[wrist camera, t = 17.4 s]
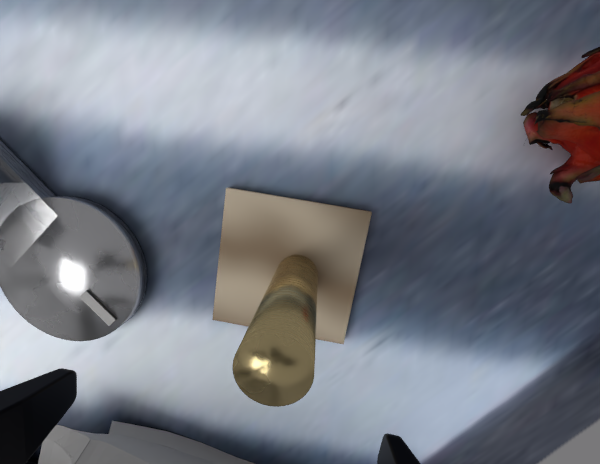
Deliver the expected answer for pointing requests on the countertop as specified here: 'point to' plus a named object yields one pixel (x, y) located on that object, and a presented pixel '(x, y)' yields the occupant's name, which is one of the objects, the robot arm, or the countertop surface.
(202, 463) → the iron
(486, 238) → the countertop surface
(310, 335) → the brass cylinder
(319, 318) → the tan square plate
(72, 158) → the countertop surface
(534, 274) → the countertop surface
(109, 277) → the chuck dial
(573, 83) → the dragon fruit
